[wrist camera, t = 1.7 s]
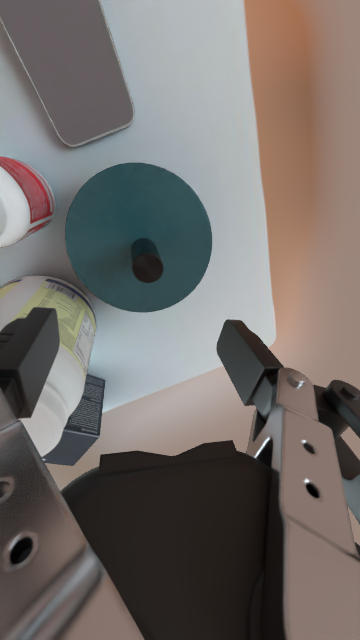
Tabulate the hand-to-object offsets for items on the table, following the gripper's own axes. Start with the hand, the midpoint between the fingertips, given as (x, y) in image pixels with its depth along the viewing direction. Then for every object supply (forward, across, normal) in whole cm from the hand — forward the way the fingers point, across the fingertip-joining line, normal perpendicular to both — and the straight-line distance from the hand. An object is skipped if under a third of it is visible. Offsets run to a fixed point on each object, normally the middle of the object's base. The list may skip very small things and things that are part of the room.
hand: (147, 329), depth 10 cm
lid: (+13, 0, -1) cm, 13 cm away
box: (+20, +7, +26) cm, 34 cm away
